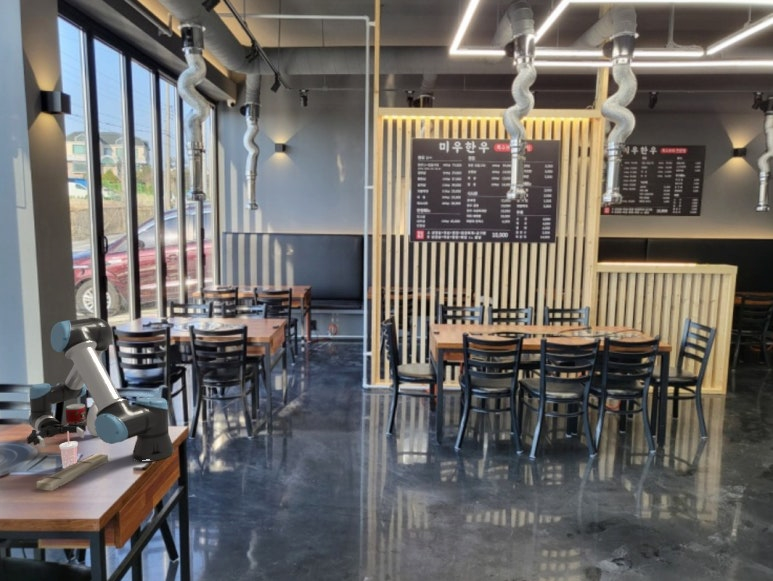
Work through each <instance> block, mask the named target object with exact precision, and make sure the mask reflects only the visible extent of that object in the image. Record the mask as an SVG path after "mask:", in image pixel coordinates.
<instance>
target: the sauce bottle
mask: <svg viewBox="0 0 773 581" xmlns="http://www.w3.org/2000/svg"><path fill="white" fill-rule="evenodd" d="M97 412H98V408H97V406H96V404H95V403H94V401H93V402H92V404H91V406H90V408H89V409H88V412H87V415H86V428H87V429H86V430H88V433H89V434H90V435H92V436H93V437H99V436H98V435H97V433H96V430H95V428H96V427H95V420H96V418H97V416H96V414H97Z"/></svg>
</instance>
